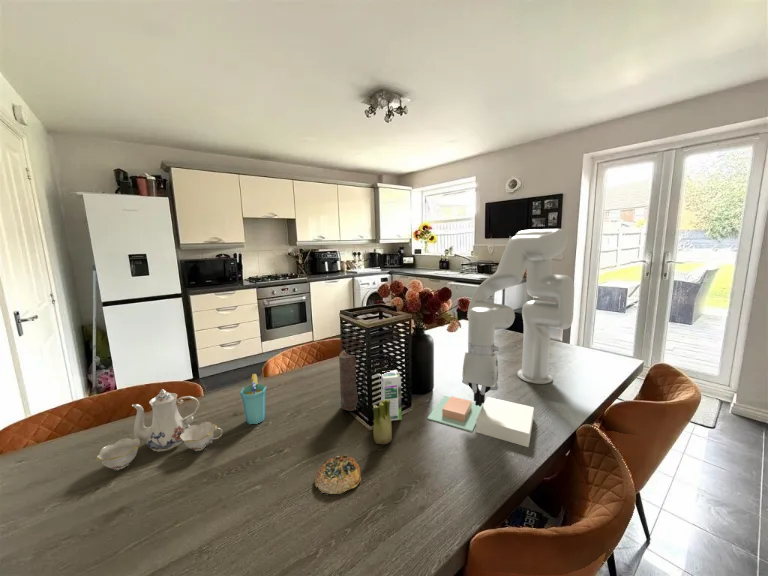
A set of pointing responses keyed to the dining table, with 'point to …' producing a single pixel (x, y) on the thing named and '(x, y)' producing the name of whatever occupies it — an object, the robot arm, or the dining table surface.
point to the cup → (254, 401)
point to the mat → (467, 425)
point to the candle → (348, 381)
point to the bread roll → (338, 475)
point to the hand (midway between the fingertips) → (479, 403)
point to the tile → (457, 409)
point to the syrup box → (392, 393)
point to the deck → (506, 421)
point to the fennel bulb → (382, 423)
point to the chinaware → (159, 431)
